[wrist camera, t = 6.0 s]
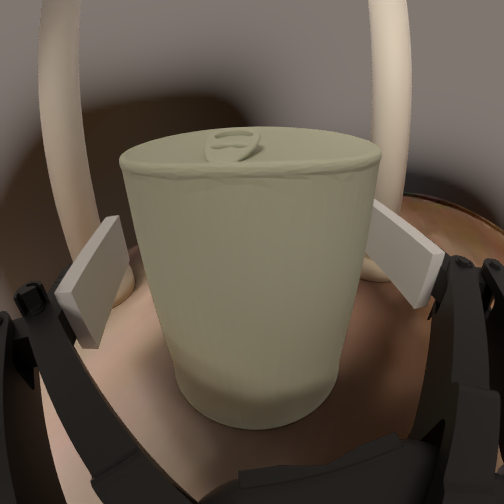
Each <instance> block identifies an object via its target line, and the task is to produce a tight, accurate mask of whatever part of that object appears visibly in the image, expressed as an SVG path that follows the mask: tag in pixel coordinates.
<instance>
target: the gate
mask: <svg viewBox="0 0 504 504" xmlns="http://www.w3.org/2000/svg"><path fill="white" fill-rule="evenodd" d="M368 5H369V14H370V28H371V43H372V44H371V45H372V123H371V124H372V125H371V141H370V142H372V143H374V144H376V145H377V146H378V147H379V148H380V149H381V152H382V157H381V160H380V164H379V170H378V176H377V182H376V189H375V196H374V199H376V200H377V201H379V202H380V203H382V204H383V205H384V206H386V207H387V208H389V209H390V210H391V211H393V212H394V213H395V214H397V215H398V216H399V214H400V208H401V202H402V196H403V189H404V183H405V175H406V167H407V157H408V147H409V136H410V121H411V99H412V98H411V97H412V96H411V95H412V68H411V66H412V65H411V42H410V29H409V18H408V10H407V2H406V0H368ZM80 10H81V0H43V1H42V9H41V18H40V28H39V45H38V46H39V47H38V87H39V105H40V116H41V125H42V134H43V141H44V148H45V155H46V160H47V165H48V171H49V176H50V181H51V185H52V190H53V195H54V199H55V203H56V207H57V211H58V214H59V218H60V222H61V225H62V229H63V232H64V236H65V239H66V242H67V245H68V248H69V251H70V254H71V257H72V260H73V263H74V261H75V260H76V258H77V257H78V255H79V254H80V252H81V251H82V249H83V248H84V246H85V245H86V244H87V242H88V241H89V239H90V238H91V237H92V235H93V234H94V233H95V231H96V230H97V229H98V227H99V226H100V225H101V223H100V219H99V215H98V211H97V207H96V203H95V197H94V193H93V188H92V182H91V177H90V172H89V166H88V159H87V153H86V146H85V140H84V132H83V122H82V112H81V101H80V84H79V25H80V23H79V22H80ZM360 278H361V279H364V280H367V281H372V282H390V281H391V280H390V279H389V278H388V277H387V276H386V275H385V273H384V272H383V271H382V270H381V269H380V268H379V267H378V265H377V264H376V263H375V262H374V261H373V260H372V259H371V258H370V257H369V255H368V254H367V253H366V252H365V255H364V260H363V265H362V270H361V275H360ZM134 287H135V279H134V275H133V272H132V269H131V267H130V265H129V264H128V266H127V269H126V271H125V274H124V276H123V279H122V281H121V284H120V287H119V289H118V292H117V295H116V297H115V300H114V303H113V306H112V308H113V307H115V306H117V305H119V304H120V303H122V302H123V301H124V300H126V299H127V298H128V297H129V295H130V294H131V293H132V291H133V289H134Z"/></svg>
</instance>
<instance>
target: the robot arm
mask: <svg viewBox="0 0 504 504" xmlns="http://www.w3.org/2000/svg"><path fill="white" fill-rule="evenodd" d="M365 252H366V253H367V254H368V255H369V257H370V258H371V259H372V260H373V261H374V262H375V263H376V264H377V265H378V267H379V268H380V269H381V270H382V271H383V272H384V273H385V275H386V276H387V277H388V278H389V279H390V280H391V282H392V283H393V284H394V285H395V286H396V287H397V289H398V290H399V291H400V292H401V293H402V295H403V296H404V297H405V298H406V299H407V301H408V302H409V303H410V304H411V306H412V307H413V308H414V309H417V308H421V307H425V306H427V304H428V301H429V299H430V296H431V295H432V296H433V297H434V298H435V299H436V300H435V302H434V304H433V307H432V309H431V312H430V314H429V316H428V319H427V320H430V318H431V317H432V322H431V332H430V341H429V349H428V357H427V363H426V370H425V375H424V381H423V386H422V391H421V396H420V401H419V405H418V409H417V414H416V418H415V421H414V425H413V428H412V431H411V433H410V435H409V436H408V438H407V439H400V440H399V438H398V436H397V434H396V432H394V433H392V434H389V435H387V436H384V437H381V438H379V439H376V440H373V441H370V442H367V443H365V444H362V445H360V446H359V447H357V448H355V449H354V450H352V451H351V452H349V453H347V454H345V455H344V456H342V457H340V458H338V459H337V460H335V461H333V462H331V463H329V464H327V465H315V466H294V465H278V466H272V467H266V468H259V469H251V470H243V471H238V475H239V478H238V479H235V480H232V481H229V482H227V483H225V484H223V485H221V486H219V487H217V488H215V489H214V490H212V491H211V492H209V493H208V494H207V495H205V496H204V497H203V498H202V499H201V500H200V501H199V502H197V501H196V500H195V499H193V498H192V497H191V496H190V495H189V494H188V493H187V492H186V491H185V490H184V489H182V488H181V487H180V486H179V485H178V484H177V483H176V482H175V481H174V480H173V479H172V478H171V477H170V476H169V475H168V474H167V473H166V472H165V471H164V470H163V469H162V468H161V467H160V466H159V465H158V464H157V462H156V461H155V460H154V459H153V458H152V457H151V456H150V455H149V453H148V452H147V451H146V450H145V449H144V448H143V447H142V445H141V444H140V443H139V442H138V441H137V439H136V438H135V437H134V436H133V434H132V433H131V432H130V431H129V429H128V428H127V427H126V425H125V424H124V423H123V422H122V420H121V419H120V418H119V416H118V415H117V413H116V412H115V411H114V409H113V408H112V406H111V405H110V404H109V402H108V401H107V399H106V398H105V396H104V395H103V393H102V392H101V390H100V389H99V387H98V386H97V384H96V383H95V381H94V379H93V378H92V376H91V375H90V373H89V371H88V370H87V368H86V366H85V365H84V363H83V361H82V360H81V358H80V356H79V354H78V352H77V351H76V349H75V347H74V343H75V341H76V338H77V340H78V342H79V344H80V345H81V347H82V349H98V348H99V345H100V342H101V338H102V335H103V332H104V329H105V326H106V323H107V320H108V317H109V314H110V311H111V309H112V306H113V303H114V300H115V297H116V295H117V292H118V289H119V287H120V284H121V281H122V279H123V276H124V274H125V271H126V269H127V266H128V264H129V261H130V259H129V255H128V251H127V247H126V243H125V239H124V235H123V231H122V226H121V222H120V218H119V215H117V216H110V217H106V218H105V219H104V221H103V222H102V223H101V225H100V226H99V227H98V229H97V230H96V231H95V233H94V234H93V235H92V237H91V238H90V239H89V241H88V242H87V244H86V245H85V246H84V248H83V249H82V251H81V252H80V254H79V255H78V257H77V258H76V260H75V261H74V263H73V264H69V265H68V266H67V267H66V268H65V269H63V270H62V272H61V273H60V275H59V276H58V278H57V279H56V281H55V282H54V284H53V285H52V287H51V289H50V290H49V292H48V293H46V291H45V289H44V287H43V284H42V283H41V282H40V281H31V282H28V283H26V284H24V285H23V286H21V287H20V288H19V289H18V290H17V291H16V293H15V295H14V301H15V302H16V305H17V307H18V308H19V310H20V312H21V314H22V316H23V317H22V318H19V319H15V320H12V319H11V318H10V315H9V314H8V313H7V312H5V311H1V312H0V504H67V503H66V500H65V497H64V494H63V492H62V488H61V485H60V482H59V479H58V476H57V472H56V469H55V465H54V461H53V457H52V453H51V449H50V444H49V440H48V435H47V429H46V424H45V418H44V412H43V405H42V397H41V388H40V377H39V371H40V374H41V376H42V379H43V382H44V384H45V387H46V389H47V391H48V394H49V396H50V399H51V401H52V403H53V405H54V408H55V410H56V412H57V414H58V416H59V418H60V420H61V422H62V424H63V426H64V428H65V430H66V432H67V434H68V436H69V438H70V440H71V442H72V443H73V445H74V447H75V449H76V450H77V452H78V454H79V456H80V457H81V459H82V461H83V462H84V464H85V465H86V467H87V469H88V470H89V472H90V474H91V476H92V480H91V481H90V482H91V485H92V487H93V489H94V491H95V492H96V494H97V496H98V497H99V498H100V500H101V501H102V502H103V504H504V465H503V466H501V467H500V468H499V469H498V472H497V473H495V467H496V461H497V453H498V443H499V448H500V452H501V457H502V460H503V463H504V266H503V265H502V264H501V263H500V262H499V261H497V260H495V259H490V258H487V259H485V260H484V263H483V266H482V268H478V267H475V266H474V264H473V263H472V262H471V261H470V260H468V259H467V258H465V257H462V256H458V255H454V256H452V257H451V256H449V255H448V254H447V253H446V252H445V251H443V250H442V249H441V248H440V247H439V246H437V245H436V244H435V243H434V242H433V241H431V240H430V239H429V238H428V237H426V236H425V235H423V234H422V233H420V232H419V231H418V230H417V229H415V228H414V227H413V226H411V225H410V224H409V223H408V222H406V221H405V220H404V219H402V218H401V217H400V216H398V215H397V214H395V213H394V212H393V211H391V210H390V209H389V208H387V207H386V206H384V205H383V204H382V203H380V202H379V201H377V200H376V199H374V203H373V210H372V216H371V222H370V228H369V233H368V239H367V244H366V250H365ZM493 300H495V302H494V306H493V308H492V309H491V307H490V306H491V304H492V302H493Z"/></svg>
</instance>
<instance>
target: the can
mask: <svg viewBox="0 0 504 504" xmlns="http://www.w3.org/2000/svg"><path fill="white" fill-rule="evenodd" d="M381 157H382V152H381V149H380V148H379V147H378V146H377V145H376V144H374V143H372V142H370V141H368V140H364V139H361V138H358V137H355V136H351V135H346V134H341V133H336V132H330V131H323V130H315V129H306V128H291V127H237V128H223V129H213V130H204V131H196V132H190V133H184V134H178V135H173V136H168V137H165V138H160V139H156V140H152V141H149V142H146V143H143V144H140V145H138V146H135V147H133V148H131V149H129V150H127V151H125V152H124V153H123V154H122V155H121V156H120V160H119V163H120V166H121V169H122V172H123V177H124V182H125V186H126V191H127V196H128V200H129V205H130V210H131V214H132V219H133V224H134V228H135V232H136V237H137V241H138V245H139V249H140V253H141V257H142V261H143V265H144V268H145V272H146V276H147V280H148V284H149V287H150V291H151V294H152V298H153V301H154V305H155V308H156V312H157V315H158V318H159V321H160V324H161V328H162V331H163V334H164V337H165V340H166V343H167V346H168V349H169V352H170V355H171V359H172V362H173V365H174V372H175V377H176V381H177V384H178V386H179V388H180V390H181V392H182V394H183V395H184V397H185V398H186V399H187V401H188V402H189V403H190V404H191V405H192V406H193V407H194V408H195V409H196V410H198V411H199V412H200V413H202V414H203V415H205V416H206V417H208V418H210V419H211V420H214V421H216V422H218V423H221V424H223V425H226V426H230V427H234V428H240V429H248V430H263V429H271V428H277V427H281V426H285V425H288V424H290V423H293V422H295V421H298V420H300V419H301V418H303V417H305V416H307V415H308V414H310V413H311V412H313V411H314V410H315V409H316V408H317V407H319V406H320V405H321V404H322V403H323V401H324V400H325V399H326V398H327V397H328V395H329V394H330V392H331V391H332V389H333V387H334V385H335V382H336V379H337V376H338V371H339V360H340V356H341V352H342V348H343V345H344V341H345V337H346V334H347V330H348V326H349V322H350V318H351V314H352V310H353V305H354V301H355V297H356V293H357V288H358V284H359V279H360V275H361V270H362V265H363V260H364V255H365V250H366V244H367V239H368V233H369V228H370V222H371V216H372V210H373V203H374V196H375V189H376V182H377V176H378V170H379V164H380V160H381Z"/></svg>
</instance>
